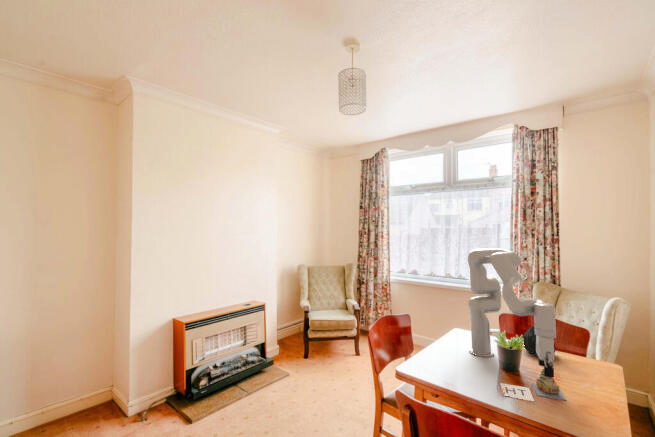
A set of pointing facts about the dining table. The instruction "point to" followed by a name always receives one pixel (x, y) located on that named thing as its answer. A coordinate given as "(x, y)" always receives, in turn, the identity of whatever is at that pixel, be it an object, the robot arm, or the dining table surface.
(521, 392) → the tile
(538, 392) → the grey mat
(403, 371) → the dining table surface
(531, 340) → the squash
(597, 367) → the dining table surface
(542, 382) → the ornament
